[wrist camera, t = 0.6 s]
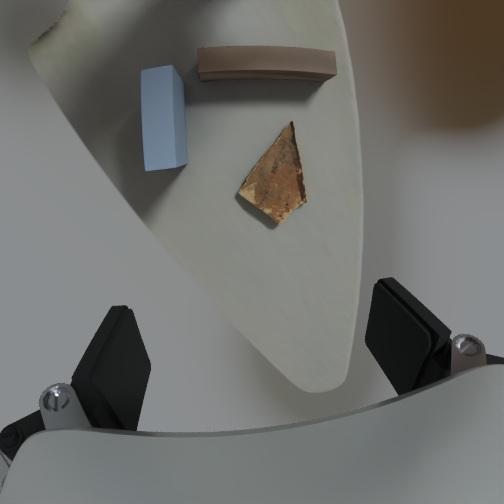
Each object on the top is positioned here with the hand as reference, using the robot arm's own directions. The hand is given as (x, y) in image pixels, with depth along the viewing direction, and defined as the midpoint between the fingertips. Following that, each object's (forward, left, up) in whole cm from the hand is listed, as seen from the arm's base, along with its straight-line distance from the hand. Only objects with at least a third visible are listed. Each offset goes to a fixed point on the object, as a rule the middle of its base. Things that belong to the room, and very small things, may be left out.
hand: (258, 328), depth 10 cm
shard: (-3, +4, -26) cm, 26 cm away
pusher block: (-10, -7, -25) cm, 28 cm away
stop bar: (-17, +4, -25) cm, 30 cm away
